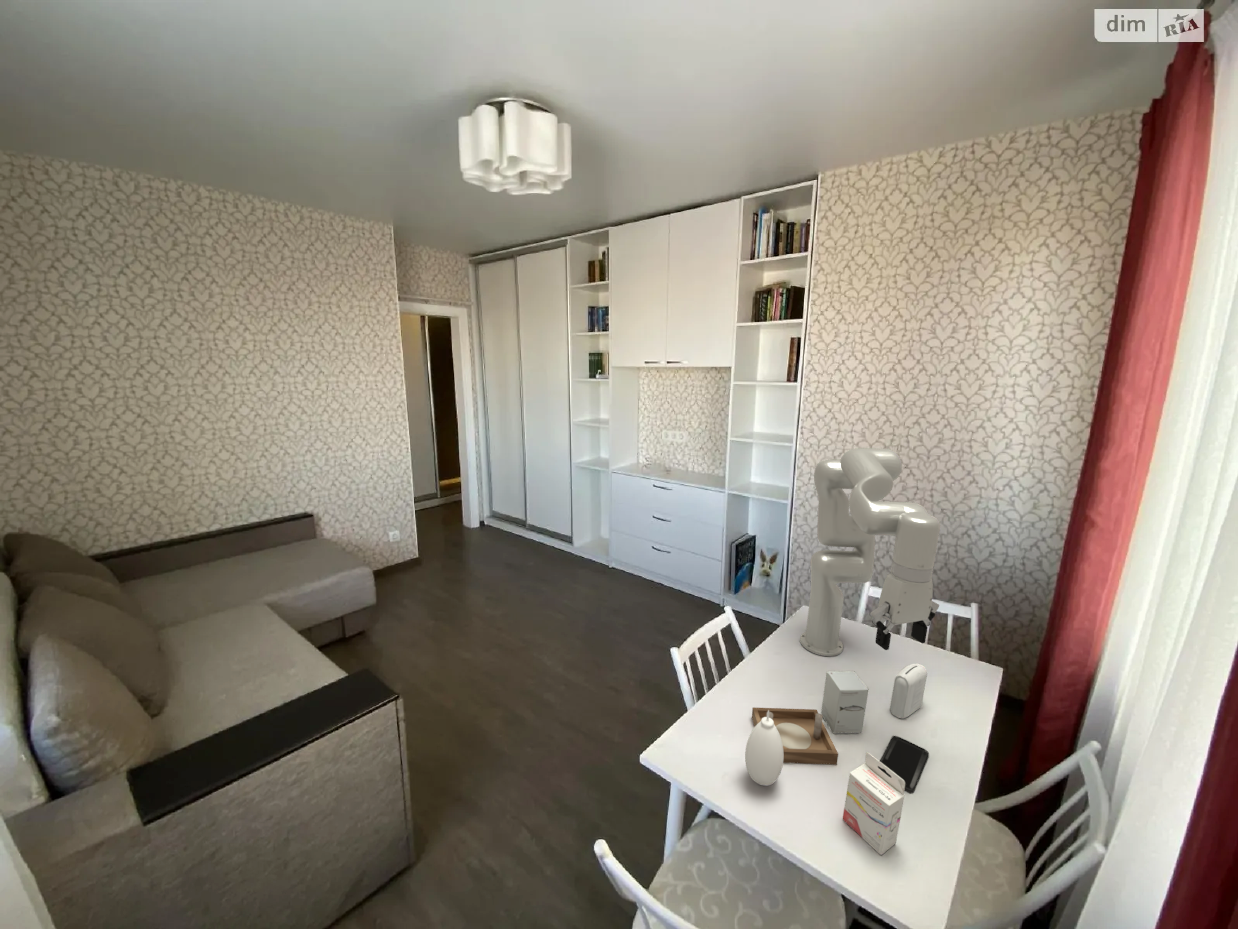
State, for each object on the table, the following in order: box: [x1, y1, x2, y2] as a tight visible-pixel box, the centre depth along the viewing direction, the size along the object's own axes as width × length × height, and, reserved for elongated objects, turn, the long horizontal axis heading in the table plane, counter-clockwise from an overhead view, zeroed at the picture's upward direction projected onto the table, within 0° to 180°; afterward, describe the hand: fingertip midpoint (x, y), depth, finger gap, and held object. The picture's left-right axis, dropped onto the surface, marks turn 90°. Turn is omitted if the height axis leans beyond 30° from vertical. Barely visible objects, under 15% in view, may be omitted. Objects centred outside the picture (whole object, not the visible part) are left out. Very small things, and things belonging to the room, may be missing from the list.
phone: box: [878, 735, 930, 794], centre depth 114 cm, size 8×1×15 cm
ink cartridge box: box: [842, 751, 905, 856], centre depth 97 cm, size 9×5×15 cm, turn 30°
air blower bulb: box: [744, 710, 784, 787], centre depth 107 cm, size 8×8×18 cm
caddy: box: [751, 706, 839, 766], centre depth 120 cm, size 14×16×7 cm
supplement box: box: [820, 670, 869, 735], centre depth 125 cm, size 7×7×13 cm
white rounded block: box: [889, 663, 928, 719], centre depth 130 cm, size 10×4×12 cm, turn 123°
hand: (900, 643), depth 110 cm, fingers open, 9 cm apart
